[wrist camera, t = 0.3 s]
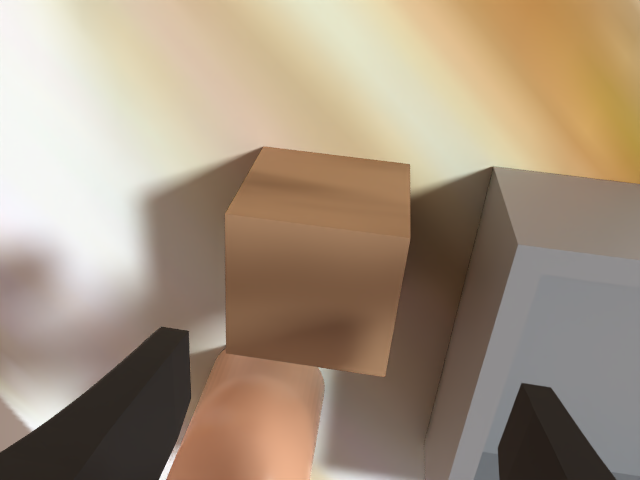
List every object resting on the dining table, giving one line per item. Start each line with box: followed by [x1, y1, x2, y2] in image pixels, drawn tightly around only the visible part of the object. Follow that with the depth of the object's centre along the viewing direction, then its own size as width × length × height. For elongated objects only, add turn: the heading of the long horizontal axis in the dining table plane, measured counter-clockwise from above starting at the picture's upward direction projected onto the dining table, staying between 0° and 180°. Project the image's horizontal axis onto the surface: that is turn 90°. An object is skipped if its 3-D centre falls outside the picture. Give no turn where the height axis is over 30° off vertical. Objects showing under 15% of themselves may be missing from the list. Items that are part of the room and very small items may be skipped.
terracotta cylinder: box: [166, 349, 325, 480], centre depth 23 cm, size 5×5×7 cm
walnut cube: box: [225, 146, 411, 377], centre depth 19 cm, size 5×5×5 cm
